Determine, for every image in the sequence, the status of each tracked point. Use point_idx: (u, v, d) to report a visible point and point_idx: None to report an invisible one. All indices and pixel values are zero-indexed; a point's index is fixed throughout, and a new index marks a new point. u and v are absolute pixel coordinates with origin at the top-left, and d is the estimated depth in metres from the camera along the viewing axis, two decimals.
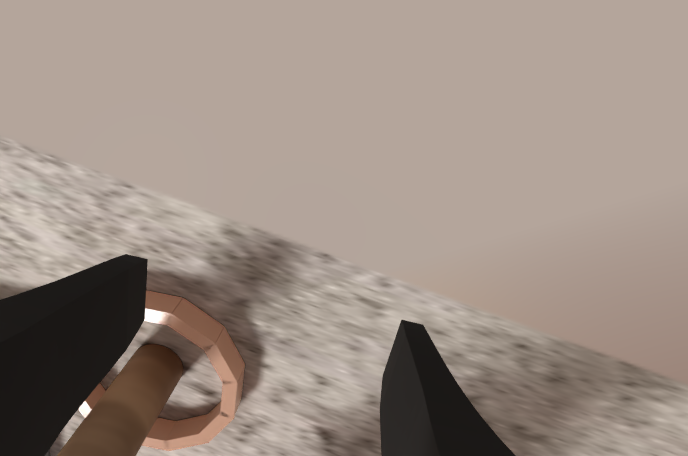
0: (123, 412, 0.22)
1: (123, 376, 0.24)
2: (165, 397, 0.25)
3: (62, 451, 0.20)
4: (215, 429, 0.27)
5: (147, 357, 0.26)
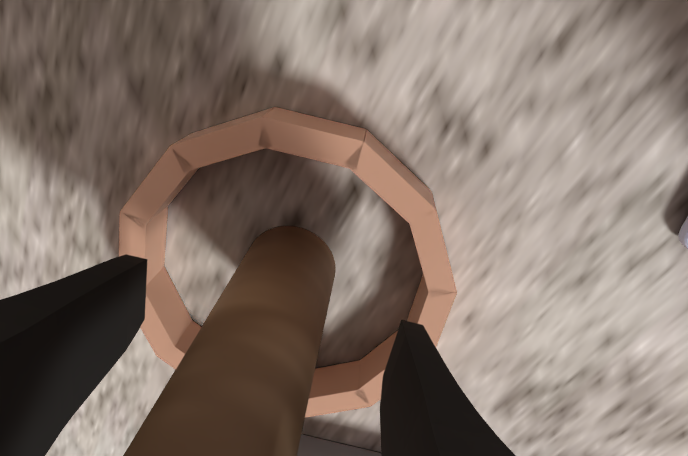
0: (197, 334, 0.11)
1: None
2: (275, 261, 0.13)
3: None
4: (397, 187, 0.13)
5: None
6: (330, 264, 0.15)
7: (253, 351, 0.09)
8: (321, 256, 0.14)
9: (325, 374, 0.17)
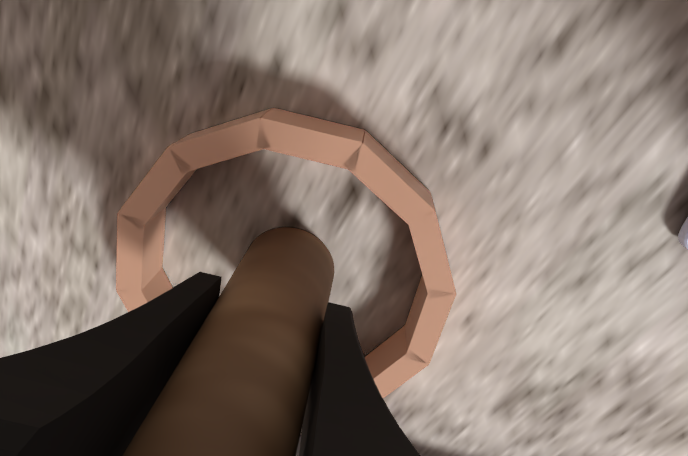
0: None
1: None
2: (273, 263, 0.13)
3: None
4: (396, 188, 0.12)
5: None
6: (329, 265, 0.15)
7: (251, 353, 0.09)
8: (320, 257, 0.14)
9: None
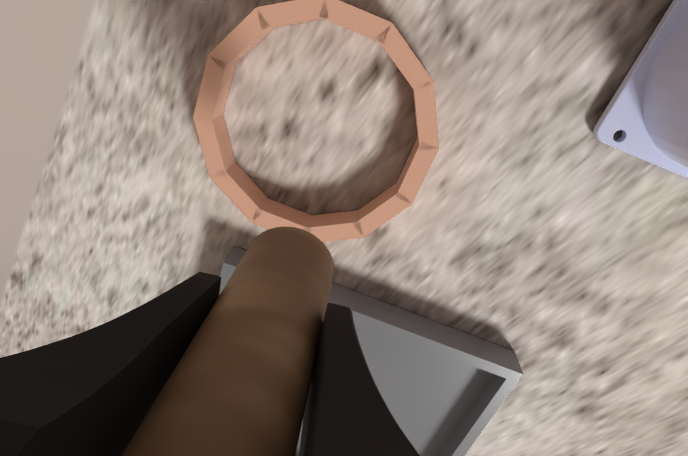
0: (194, 336, 0.11)
1: None
2: (273, 262, 0.13)
3: None
4: (409, 60, 0.18)
5: None
6: (329, 265, 0.15)
7: (250, 353, 0.09)
8: (320, 257, 0.14)
9: (331, 216, 0.22)
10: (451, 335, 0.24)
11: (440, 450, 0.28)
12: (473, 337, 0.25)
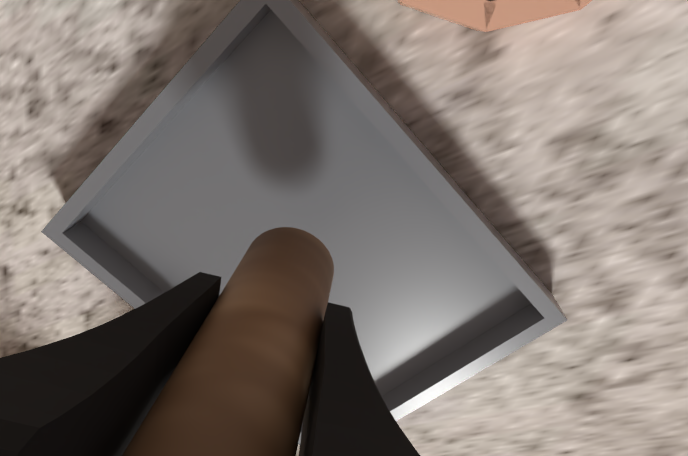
0: (194, 337, 0.11)
1: None
2: (273, 263, 0.13)
3: None
4: None
5: None
6: (329, 265, 0.15)
7: (250, 353, 0.09)
8: (319, 257, 0.14)
9: None
10: (501, 238, 0.18)
11: (396, 387, 0.21)
12: (518, 256, 0.19)
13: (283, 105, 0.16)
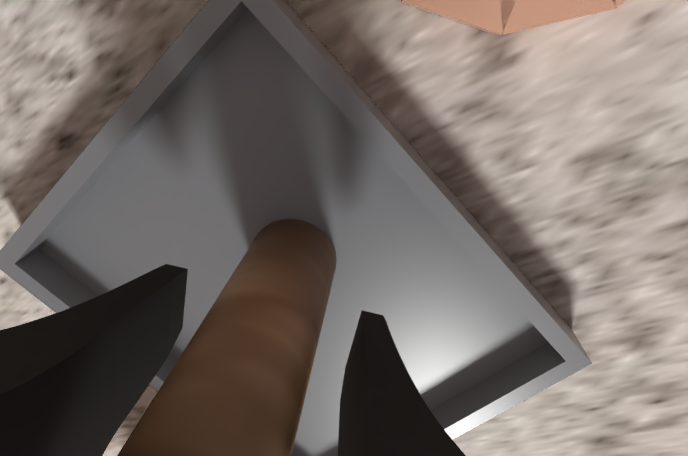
0: (203, 320, 0.12)
1: None
2: (278, 252, 0.13)
3: None
4: None
5: None
6: (331, 256, 0.15)
7: (255, 334, 0.10)
8: (322, 248, 0.15)
9: None
10: (516, 270, 0.15)
11: None
12: (534, 288, 0.16)
13: (265, 119, 0.14)
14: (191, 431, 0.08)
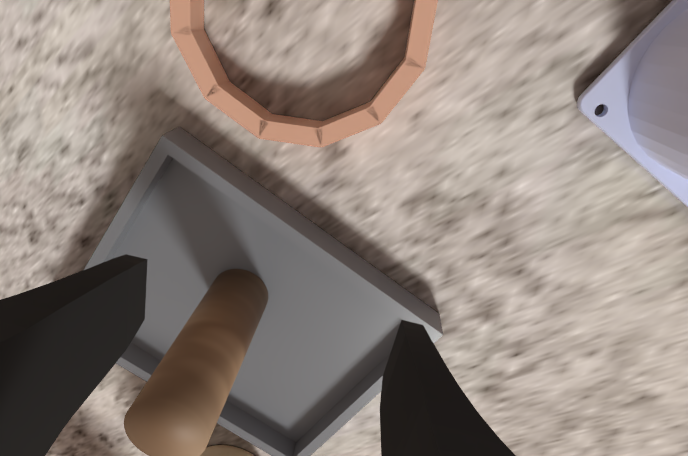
0: (174, 342, 0.20)
1: None
2: (218, 294, 0.22)
3: None
4: None
5: None
6: (260, 289, 0.23)
7: (197, 344, 0.18)
8: (252, 285, 0.23)
9: (292, 119, 0.21)
10: (382, 280, 0.23)
11: (339, 401, 0.27)
12: (403, 289, 0.24)
13: (201, 211, 0.23)
14: (158, 394, 0.16)
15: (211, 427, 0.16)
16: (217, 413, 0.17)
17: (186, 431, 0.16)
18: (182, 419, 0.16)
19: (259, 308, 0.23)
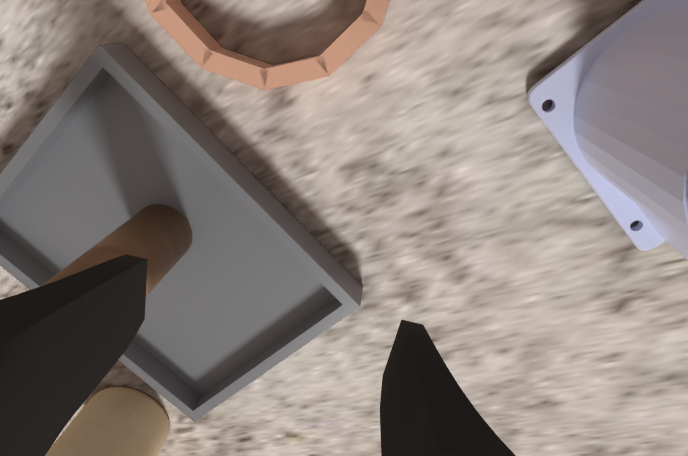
0: None
1: None
2: (135, 224, 0.21)
3: None
4: None
5: None
6: (184, 229, 0.23)
7: None
8: (175, 223, 0.22)
9: (241, 56, 0.20)
10: (309, 242, 0.23)
11: (250, 359, 0.26)
12: (330, 256, 0.24)
13: (134, 137, 0.22)
14: None
15: None
16: None
17: None
18: None
19: (178, 248, 0.22)
